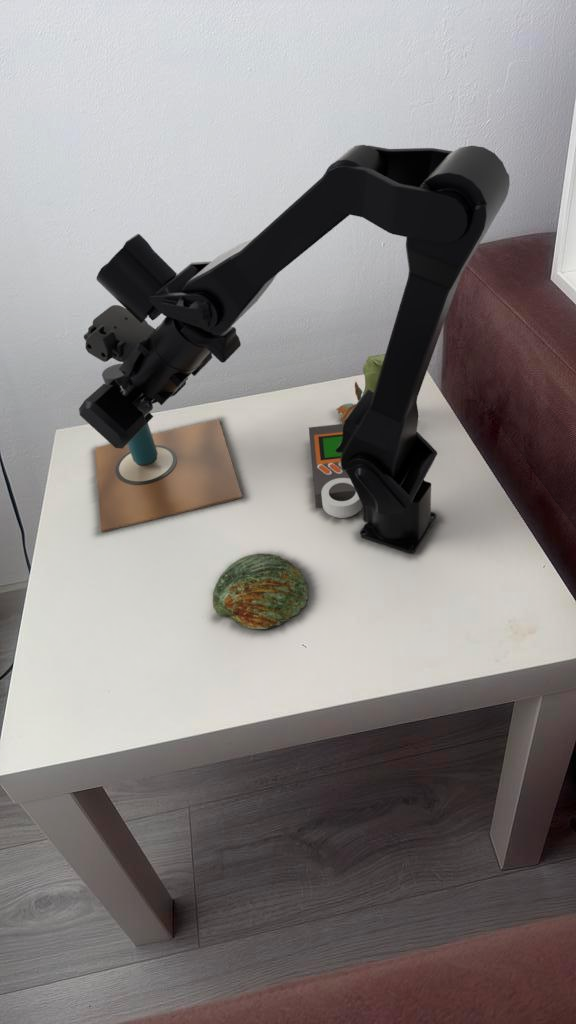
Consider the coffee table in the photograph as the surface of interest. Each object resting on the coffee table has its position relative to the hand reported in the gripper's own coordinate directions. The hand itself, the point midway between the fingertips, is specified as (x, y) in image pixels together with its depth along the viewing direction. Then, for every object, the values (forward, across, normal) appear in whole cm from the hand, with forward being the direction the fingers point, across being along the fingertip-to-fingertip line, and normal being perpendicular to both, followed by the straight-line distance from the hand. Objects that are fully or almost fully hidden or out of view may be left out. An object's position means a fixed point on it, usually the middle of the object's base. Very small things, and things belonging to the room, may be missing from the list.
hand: (122, 415), depth 90 cm
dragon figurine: (-13, -19, +22) cm, 31 cm away
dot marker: (+4, 0, +6) cm, 7 cm away
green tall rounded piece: (-13, -18, +25) cm, 33 cm away
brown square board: (+2, 0, +9) cm, 9 cm away
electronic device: (-13, -6, +24) cm, 28 cm away
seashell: (-12, +14, +24) cm, 30 cm away
